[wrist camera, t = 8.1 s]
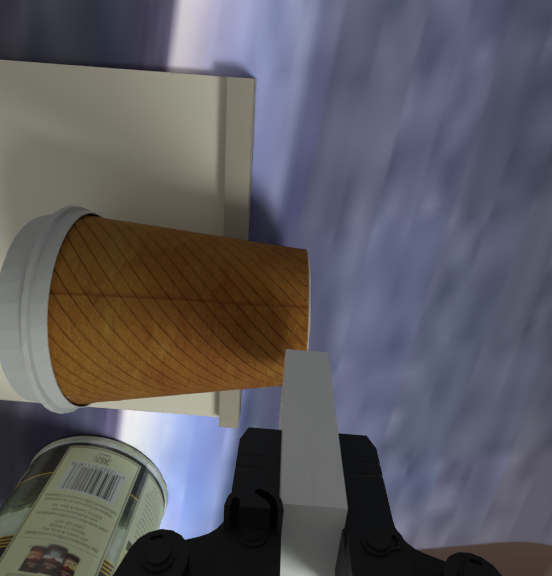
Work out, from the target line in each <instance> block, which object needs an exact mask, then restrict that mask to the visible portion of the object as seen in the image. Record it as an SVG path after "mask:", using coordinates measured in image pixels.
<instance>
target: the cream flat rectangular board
mask: <svg viewBox="0 0 552 576" xmlns="http://www.w3.org/2000/svg"><path fill="white" fill-rule="evenodd" d="M255 97H256V79H253V78H239V77H222V76H209V75H195V74H182V73H169V72H156V71H142V70H129V69H116V68H103V67H89V66H76V65H63V64H50V63H36V62H23V61H10V60H0V272H1V268H2V265H3V263H4V260H5V257H6V254H7V251H8V249H9V247H10V246H11V244H12V242H13V240H14V238H15V236H16V235H17V234H18V233H19V231H20V230H21V229H22V228H23V227H24V226H25V225H26V224H27V223H28V222H29V221H31V220H33V219H35V218H36V217H40V216H45V215H50V214H54V213H55V212H57V211H58V210H60V209H61V208H63V207H66V206H80V207H83V208H85V209H88V210H89V211H90V212H94V213H96V214H98V215H100V216H102V217H103V218H107V219H113V220H120V221H126V222H134V223H139V224H147V225H152V226H159V227H164V228H172V229H177V230H185V231H190V232H197V233H203V234H210V235H216V236H223V237H229V238H235V239H241V240H246V241H249V223H250V202H251V181H252V160H253V139H254V118H255ZM241 393H242V389H239V390H228V391H217V392H207V393H195V394H183V395H175V396H163V397H151V398H140V399H129V400H121V401H108V402H96V403H92V404H90V405H89V406H87V407H99V408H111V409H124V410H136V411H149V412H162V413H174V414H187V415H199V416H212V417H219V427H229V428H238V425H239V419H240V413H241ZM0 400H11V401H24V402H34V401H30V400H26V399H24V398H23V397H21V396H20V395H18V394H17V393H16V391H15V390H14V389H13V388H12V387H11V385H10V383H9V381H8V380H7V378H6V376H5V374H4V373H3V369H2V366H1V362H0ZM36 403H38V402H36Z"/></svg>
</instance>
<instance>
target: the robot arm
mask: <svg viewBox="0 0 552 576" xmlns="http://www.w3.org/2000/svg"><path fill="white" fill-rule="evenodd" d="M113 576H502V575H501V574H500V573H499V572H498V570H496V568H495V567H494V566H493V565H492V564H490V563H489V562H487V561H486V560H485V559H483V558H482V557H479V556H477V555H474V554H471V553H462V552H461V553H460V552H458V553H455V554H453V555H451V556H449V557H448V559H447V560H446V561H443V560H440V559H437V558H435V557H432V556H429V555H427V554H424V553H422V552H420V551H418V550H416V549H414V548H413V547H412V546H410V545H409V544H408V543H406V541H405V540H404V539H403V537H402V535H401V534H400V533H399V532H398V531H397V530H396V528H395V526H394V523H393V520H392V515H391V511H390V506H389V502H388V498H387V493H386V489H385V485H384V480H383V478H382V471H381V467H380V463H379V458H378V454H377V450H376V448H375V446H374V445H373V444H372V442H371V441H370V440H369V438H368V437H367V436H363V435H351V434H338V428H337V420H336V412H335V404H334V396H333V389H332V381H331V373H330V365H329V357H328V352H316V351H303V350H291V349H286V350H285V361H284V372H283V384H282V395H281V406H280V423H279V430H274V429H262V428H248V429H247V430H246V432H245V433H244V434H243V436H242V437H241V438H240V442H239V448H238V455H237V461H236V467H235V474H234V480H233V487H232V493H231V494H230V495H229V496H228V497H227V500H226V502H225V505H224V522H223V523H222V524H221V525H220V526H219V527H218V528H217V529H216V530H214V531H212V532H211V533H209V534H206V535H203V536H200V537H196V538H192V539H187V540H184V538H183V537H182V536H181V535H180V534H178V533H176V532H174V531H172V530H164V529H160V530H155V531H151V532H148V533H146V534H145V535H143V536H141V537H140V538H138V539H137V541H136V542H135V543H134V544H133V545H132V546H131V547H130V549H129V550H128V552H127V553H126V555H125V557H124V558H123V560H122V561H121V563H120V565H119V566H118V568H117V569H116V571H115V572H114V574H113Z"/></svg>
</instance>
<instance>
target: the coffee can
mask: <svg viewBox="0 0 552 576" xmlns="http://www.w3.org/2000/svg"><path fill="white" fill-rule="evenodd" d="M167 501H168V493H167V488H166V483H165V482H164V480H163V478H162V476H161V474H160V472H159V471H158V469H157V468H156V467H155V465H154V464H153V463H152V462H151V461H150V460H149V459H148V458H146V457H145V456H144V455H143V454H141V453H140V452H138V451H137V450H135V449H134V448H132V447H129V446H127V445H125V444H123V443H120V442H118V441H115V440H111V439H108V438H103V437H96V436H73V437H69V438H63V439H60V440H57V441H55V442H52V443H51V444H49V445H47V446H46V447H44V448H43V449H42V450H40V451H39V452H38V453H37V454H36V455H35V457H34V458H33V460H32V461H31V464H30V466H29V468H28V469H27V471H26V472H25V474H24V475H23V476H22V478H21V480H20V481H19V482H18V484H17V485H16V487H15V488H14V490H13V491H12V492H11V494H10V496H9V497H8V499H7V500H6V501H5V503H4V504H3V505H2V507H1V508H0V576H113V574H114V572H115V571H116V569H117V568H118V566H119V565H120V563H121V561H122V560H123V558H124V557H125V555H126V553H127V552H128V550H129V549H130V547H131V546H132V545H133V544H134V543H135V542H136V541H137V539H138V538H140V537H141V536H143V535H145V534H146V533H148V532H151V531H155V530H159V526H160V523H161V520H162V517H163V515H164V513H165V510H166V507H167Z"/></svg>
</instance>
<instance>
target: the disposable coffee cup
mask: <svg viewBox="0 0 552 576" xmlns="http://www.w3.org/2000/svg"><path fill="white" fill-rule="evenodd" d="M310 287H311V275H310V260H309V256H308V252H307V250H306V249H298V248H292V247H285V246H279V245H272V244H266V243H259V242H254V241H246V240H241V239H235V238H229V237H223V236H216V235H210V234H203V233H197V232H190V231H185V230H177V229H172V228H164V227H159V226H152V225H147V224H139V223H134V222H126V221H120V220H113V219H107V218H103V217H102V216H100V215H98V214H96V213H94V212H90V211H89V210H88V209H85V208H83V207H80V206H66V207H63V208H61V209H60V210H58V211H57V212H55V213H54V214H50V215H45V216H40V217H36V218H35V219H33V220H31V221H29V222H28V223H27V224H26V225H25V226H24V227H23V228H22V229H21V230H20V231H19V233H18V234H17V235H16V236H15V238H14V240H13V242H12V244H11V246H10V247H9V249H8V251H7V254H6V257H5V260H4V263H3V265H2V268H1V272H0V362H1V366H2V369H3V373H4V374H5V376H6V378H7V380H8V381H9V383H10V385H11V387H12V388H13V389H14V390H15V391H16V393H17V394H18V395H20V396H21V397H23V398H24V399H26V400H30V401H34V402H38V403H42V404H43V406H44V407H45V408H47V409H48V410H50V411H51V412H55V413H59V414H62V413H69V412H73V411H75V410H76V409H78V408H81V407H87V406H89V405H90V404H92V403H96V402H108V401H121V400H129V399H140V398H151V397H163V396H175V395H183V394H195V393H207V392H217V391H228V390H239V389H250V388H261V387H273V386H282V384H283V372H284V361H285V350H286V349H291V350H303V351H308V346H309V332H310Z"/></svg>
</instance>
